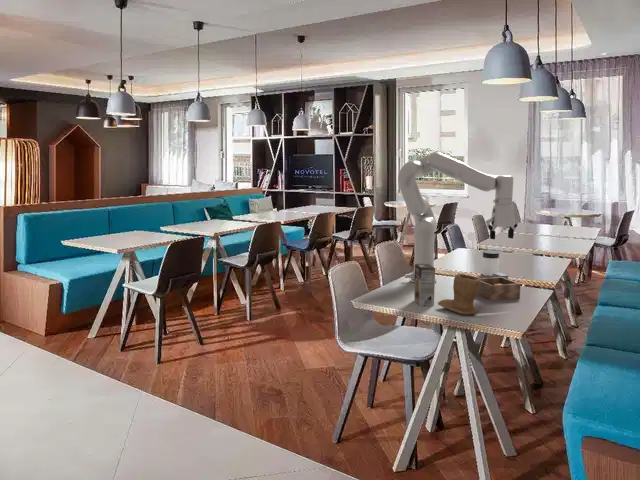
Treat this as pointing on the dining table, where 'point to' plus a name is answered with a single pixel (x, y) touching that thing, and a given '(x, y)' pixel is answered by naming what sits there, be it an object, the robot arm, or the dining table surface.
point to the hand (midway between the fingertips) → (501, 238)
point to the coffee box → (424, 284)
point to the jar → (490, 263)
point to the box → (498, 288)
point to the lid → (500, 275)
